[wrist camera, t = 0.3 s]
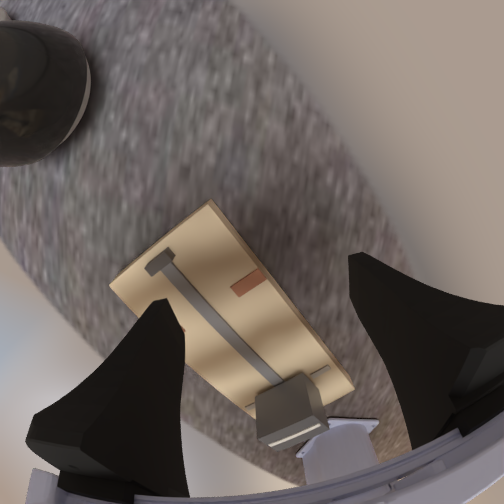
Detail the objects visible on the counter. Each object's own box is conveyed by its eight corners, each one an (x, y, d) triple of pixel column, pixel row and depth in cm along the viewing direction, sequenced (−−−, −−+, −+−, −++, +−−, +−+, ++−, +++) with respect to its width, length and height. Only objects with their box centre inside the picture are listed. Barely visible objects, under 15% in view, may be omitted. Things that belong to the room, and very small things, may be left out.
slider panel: (349, 375, 27) (357, 396, 24) (269, 416, 29) (271, 437, 26) (211, 198, 20) (206, 207, 18) (117, 274, 22) (103, 291, 19)
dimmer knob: (318, 389, 24) (330, 430, 19) (272, 411, 25) (277, 452, 20) (302, 372, 23) (313, 416, 19) (254, 396, 24) (257, 440, 19)
